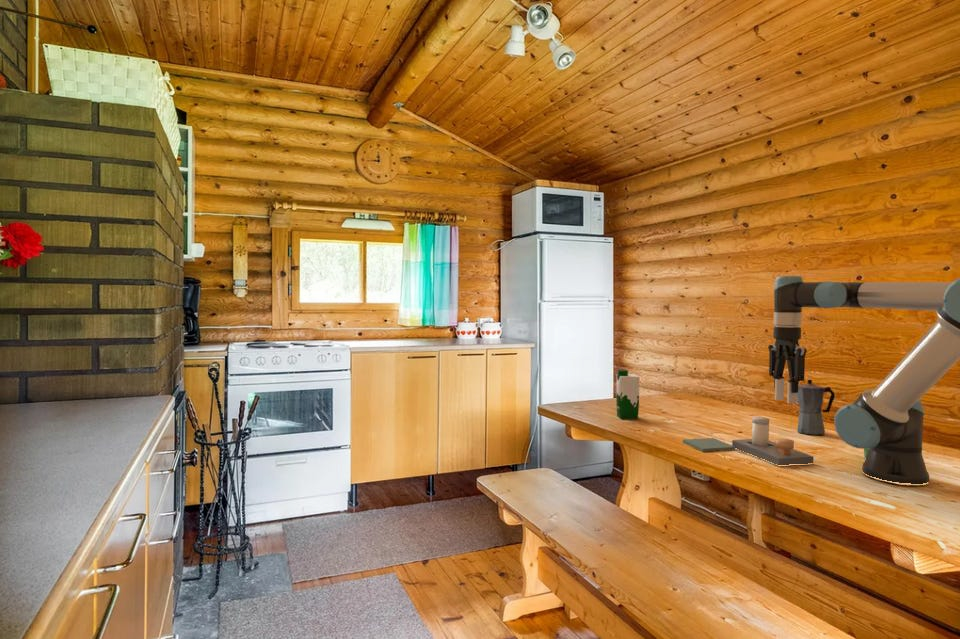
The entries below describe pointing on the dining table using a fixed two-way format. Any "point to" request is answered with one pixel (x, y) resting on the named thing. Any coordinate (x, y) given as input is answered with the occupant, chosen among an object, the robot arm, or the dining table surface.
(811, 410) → the moka pot
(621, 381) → the milk carton
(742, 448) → the housing
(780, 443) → the brown mushroom
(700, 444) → the mat
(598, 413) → the dining table surface
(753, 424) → the cylinder
